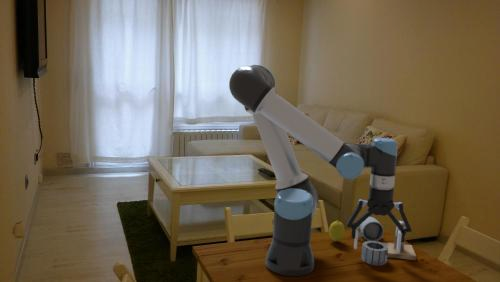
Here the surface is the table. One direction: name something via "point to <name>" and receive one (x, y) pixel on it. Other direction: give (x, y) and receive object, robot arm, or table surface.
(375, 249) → the ring
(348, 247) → the table surface
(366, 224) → the ceramic mug
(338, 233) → the lemon
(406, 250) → the shaft stand
